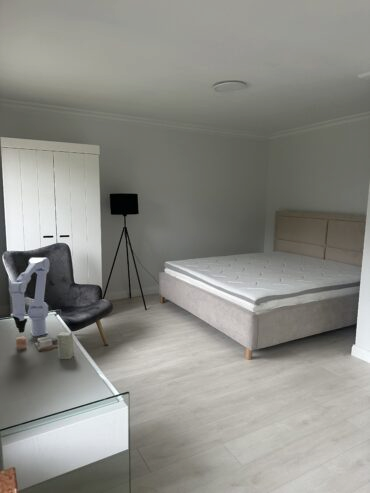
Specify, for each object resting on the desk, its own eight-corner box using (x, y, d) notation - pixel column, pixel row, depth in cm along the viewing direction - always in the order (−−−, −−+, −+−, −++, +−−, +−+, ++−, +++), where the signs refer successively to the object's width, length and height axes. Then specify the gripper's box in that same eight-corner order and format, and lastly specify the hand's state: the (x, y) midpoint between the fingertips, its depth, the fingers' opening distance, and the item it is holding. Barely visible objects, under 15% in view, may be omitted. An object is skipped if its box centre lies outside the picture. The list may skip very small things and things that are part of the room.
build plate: (35, 344, 182) (34, 337, 181) (56, 340, 188) (56, 333, 188) (39, 351, 174) (38, 344, 173) (61, 346, 180) (61, 339, 180)
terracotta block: (16, 347, 180) (16, 337, 179) (24, 345, 182) (24, 336, 181) (17, 349, 176) (17, 340, 176) (26, 347, 179) (25, 338, 178)
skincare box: (74, 355, 170) (73, 331, 168) (70, 359, 165) (69, 335, 164) (62, 354, 170) (60, 331, 169) (57, 358, 166) (56, 334, 164)
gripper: (7, 302, 180) (9, 327, 182) (12, 309, 168) (14, 336, 170) (22, 300, 184) (24, 324, 186) (27, 307, 172) (29, 333, 174)
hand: (20, 330), depth 178 cm, fingers open, 7 cm apart
